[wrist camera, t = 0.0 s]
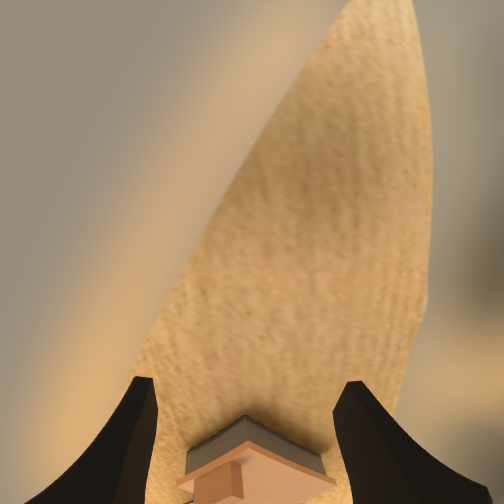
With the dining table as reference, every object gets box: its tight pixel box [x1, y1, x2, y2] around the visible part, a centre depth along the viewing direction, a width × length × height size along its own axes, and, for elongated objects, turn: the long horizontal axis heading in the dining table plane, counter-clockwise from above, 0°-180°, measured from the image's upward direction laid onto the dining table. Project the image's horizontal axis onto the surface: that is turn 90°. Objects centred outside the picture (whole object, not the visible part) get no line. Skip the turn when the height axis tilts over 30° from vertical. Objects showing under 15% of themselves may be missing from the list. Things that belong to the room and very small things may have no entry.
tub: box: [185, 415, 327, 476], centre depth 25 cm, size 8×11×4 cm
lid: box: [177, 441, 337, 504], centre depth 22 cm, size 9×12×5 cm
